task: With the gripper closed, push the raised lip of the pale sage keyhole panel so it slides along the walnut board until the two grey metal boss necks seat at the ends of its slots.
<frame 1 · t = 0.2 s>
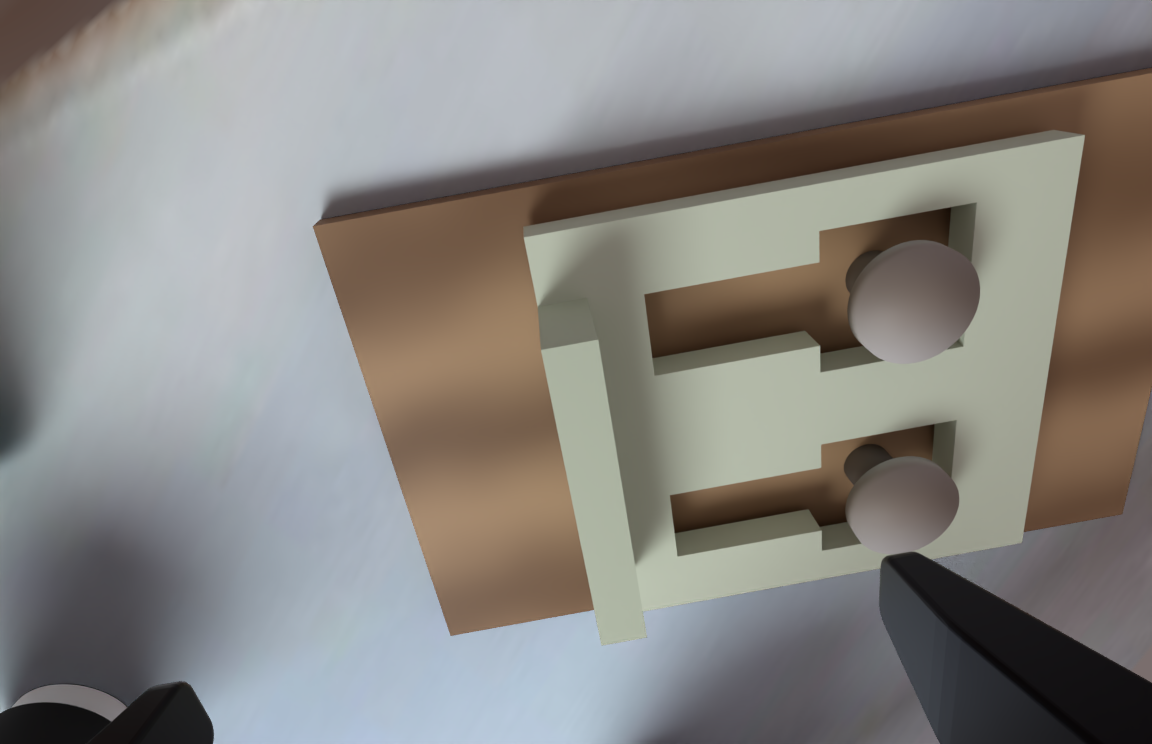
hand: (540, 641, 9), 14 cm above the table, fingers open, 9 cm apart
dixie cup: (79, 721, 28), on the table
sage panel: (819, 426, 21), point 3 cm above the table, slide at 0.0 cm
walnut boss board: (771, 381, 24), on the table
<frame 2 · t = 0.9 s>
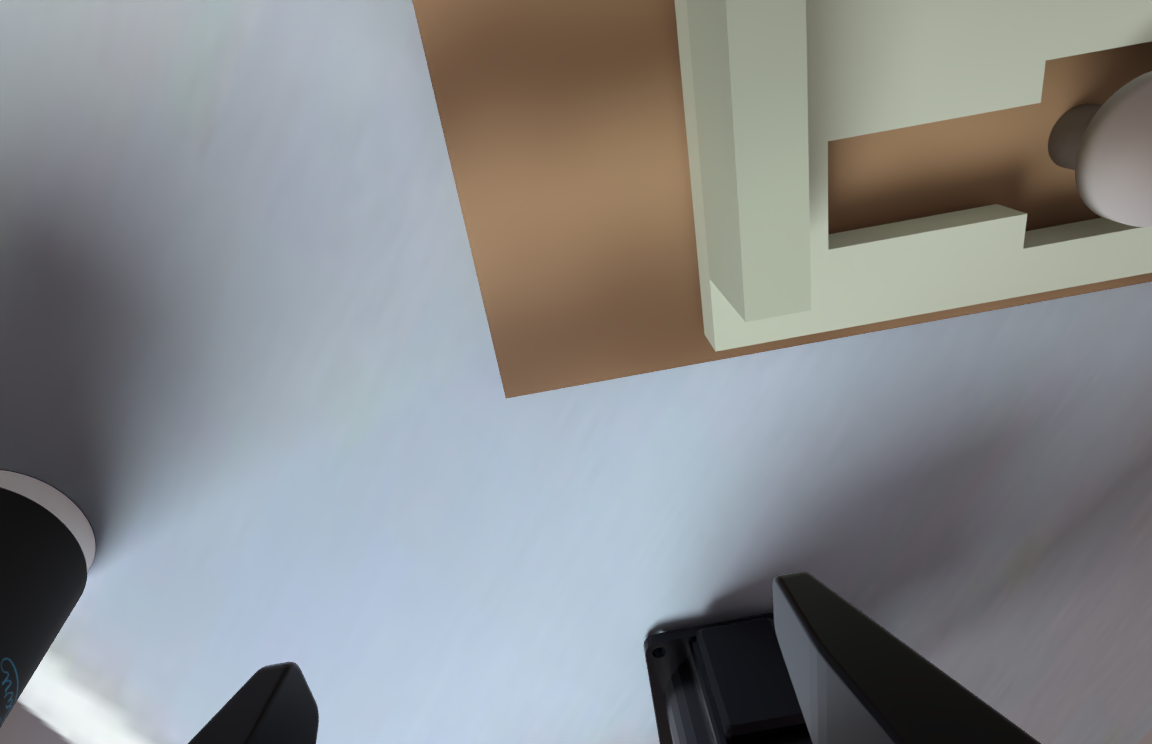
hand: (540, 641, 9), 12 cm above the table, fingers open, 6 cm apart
dixie cup: (16, 530, 22), on the table
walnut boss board: (956, 8, 17), on the table
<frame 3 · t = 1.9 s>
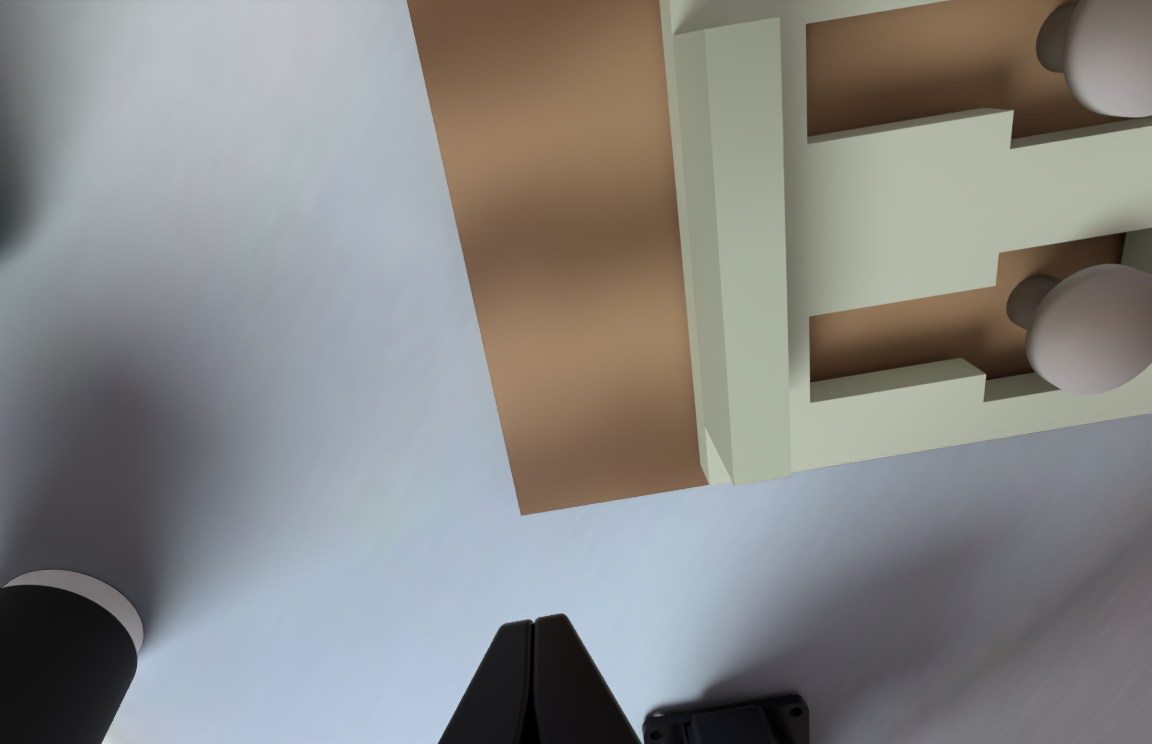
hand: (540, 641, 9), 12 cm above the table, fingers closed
dixie cup: (73, 620, 24), on the table
sage panel: (1011, 212, 17), point 3 cm above the table, slide at 0.0 cm
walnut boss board: (924, 192, 19), on the table
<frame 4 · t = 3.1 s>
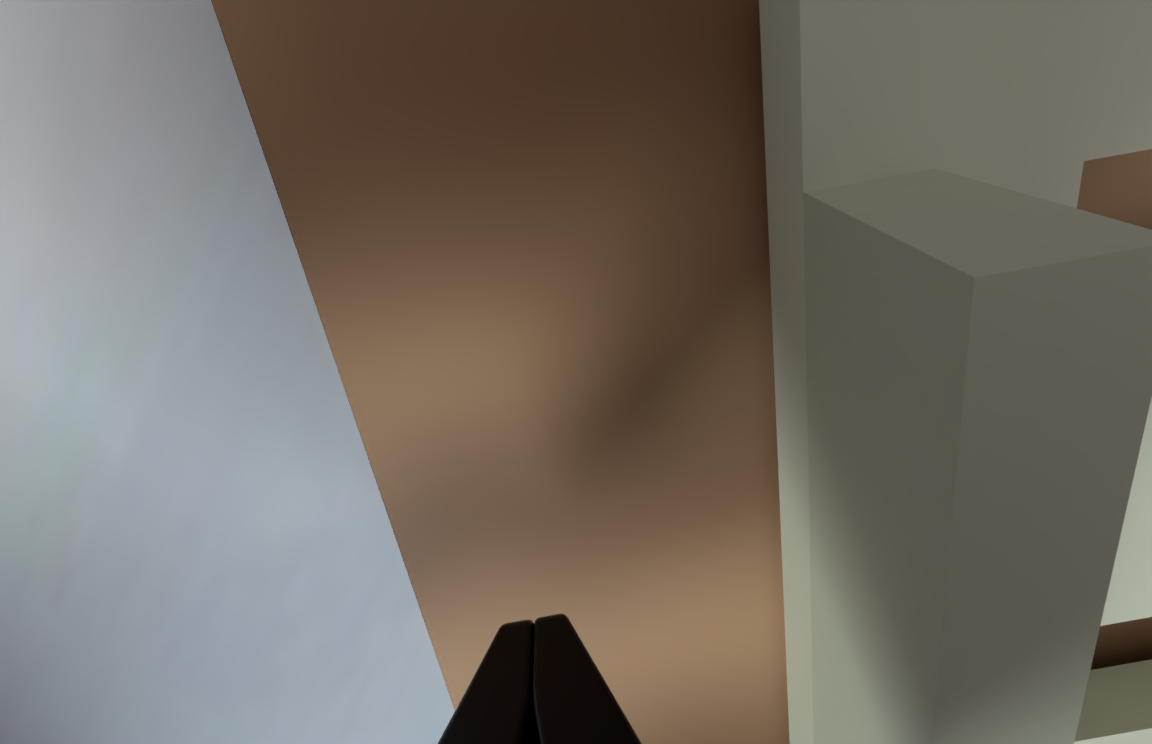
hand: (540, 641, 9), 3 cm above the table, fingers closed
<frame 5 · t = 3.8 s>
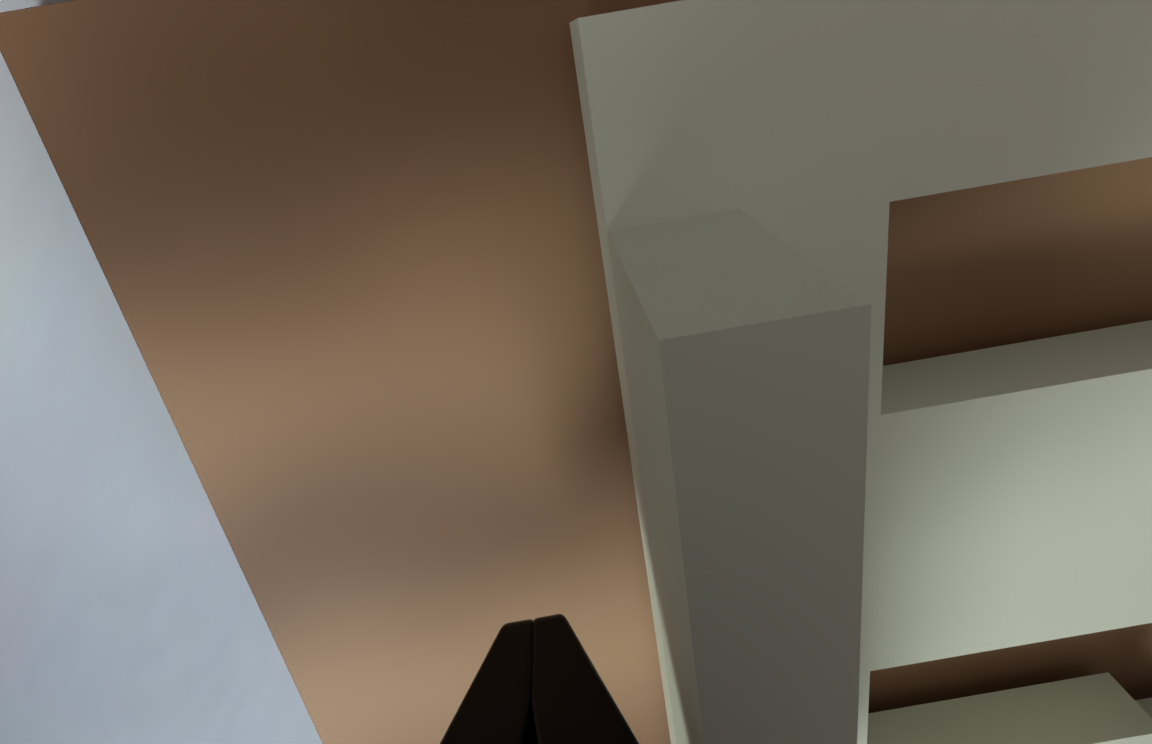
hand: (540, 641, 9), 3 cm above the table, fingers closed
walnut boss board: (1044, 423, 11), on the table
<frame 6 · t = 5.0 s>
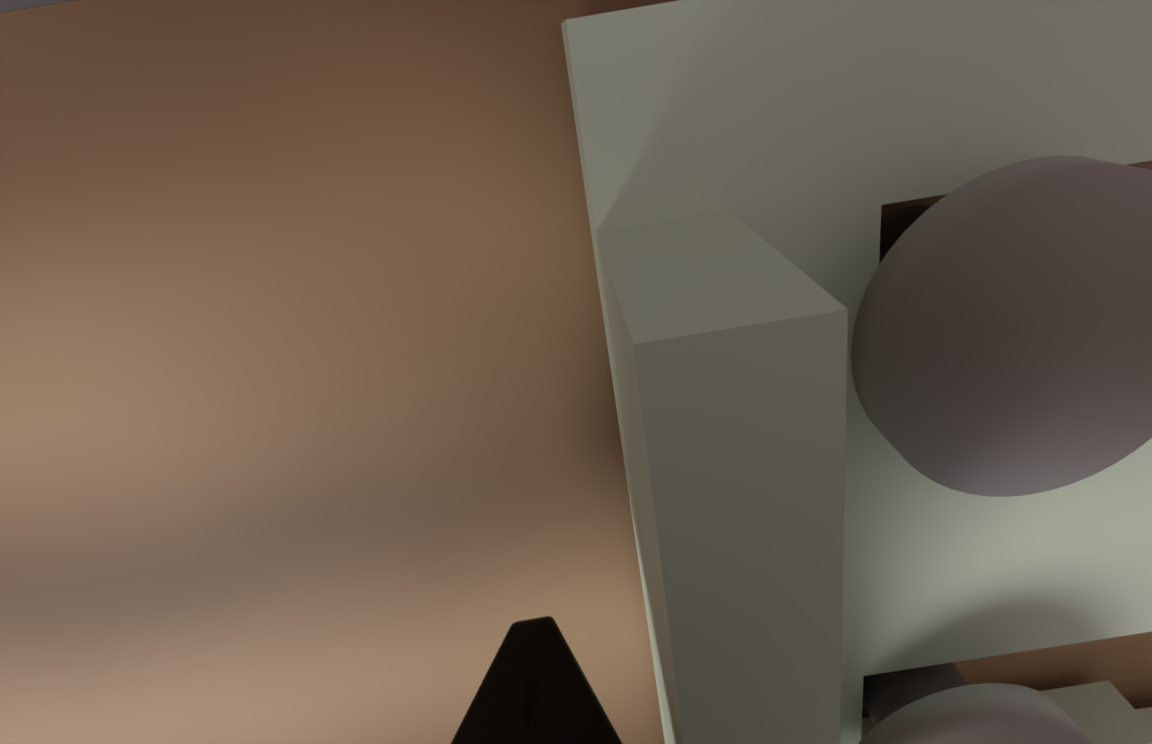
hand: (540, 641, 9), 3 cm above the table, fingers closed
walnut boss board: (692, 485, 11), on the table
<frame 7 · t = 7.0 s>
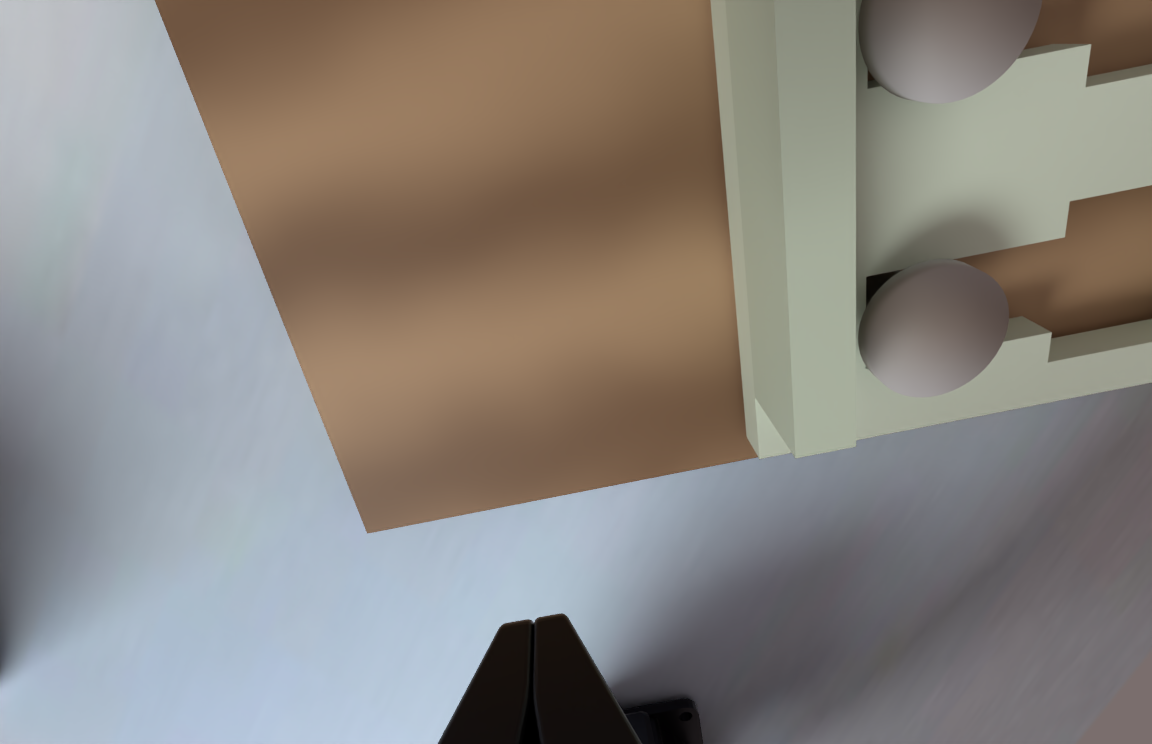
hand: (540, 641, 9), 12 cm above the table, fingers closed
sage panel: (1088, 155, 15), point 3 cm above the table, slide at 6.0 cm
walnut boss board: (759, 185, 18), on the table
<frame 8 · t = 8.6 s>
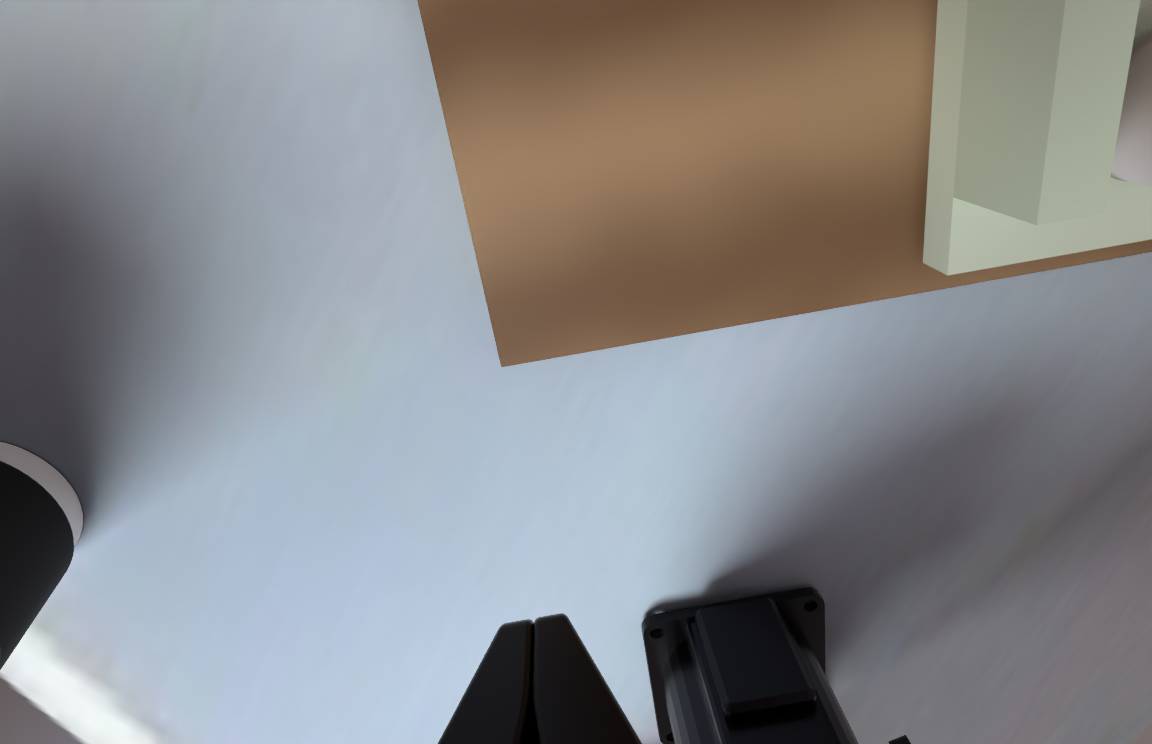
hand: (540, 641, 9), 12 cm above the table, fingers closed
dixie cup: (3, 502, 21), on the table
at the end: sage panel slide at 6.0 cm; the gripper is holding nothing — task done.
